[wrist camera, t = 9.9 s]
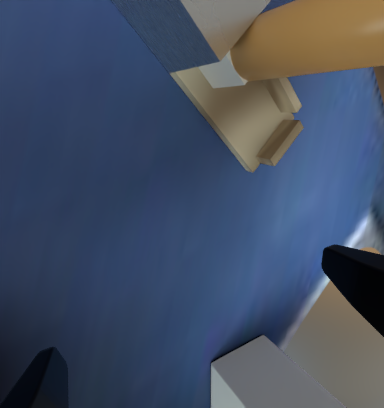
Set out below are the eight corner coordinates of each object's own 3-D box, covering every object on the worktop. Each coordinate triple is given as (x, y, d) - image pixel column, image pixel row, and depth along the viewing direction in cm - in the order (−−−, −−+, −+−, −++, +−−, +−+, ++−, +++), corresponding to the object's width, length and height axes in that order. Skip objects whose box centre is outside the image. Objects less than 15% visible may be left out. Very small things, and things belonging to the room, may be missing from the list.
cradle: (287, 117, 25) (310, 118, 23) (246, 170, 24) (267, 176, 22) (224, 8, 19) (248, -4, 17) (169, 73, 19) (188, 69, 17)
